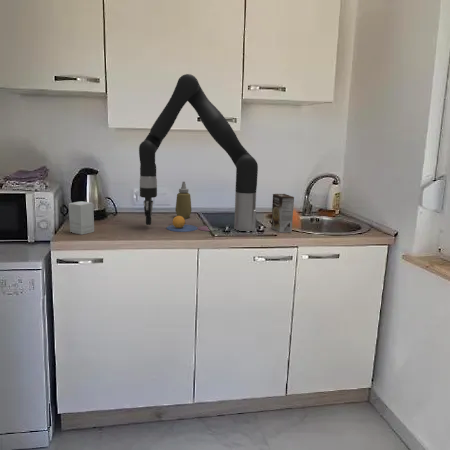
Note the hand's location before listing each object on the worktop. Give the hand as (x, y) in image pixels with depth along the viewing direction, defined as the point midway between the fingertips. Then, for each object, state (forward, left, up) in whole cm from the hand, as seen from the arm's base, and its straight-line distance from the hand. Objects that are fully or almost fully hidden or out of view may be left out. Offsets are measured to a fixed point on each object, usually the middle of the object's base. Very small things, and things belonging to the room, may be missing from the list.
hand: (148, 224), depth 212 cm
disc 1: (-15, 0, -2) cm, 15 cm away
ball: (-14, 0, +1) cm, 14 cm away
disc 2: (-27, 0, -2) cm, 27 cm away
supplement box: (+27, +10, -2) cm, 29 cm away
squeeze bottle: (-15, -24, -2) cm, 28 cm away
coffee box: (-60, +1, -2) cm, 60 cm away
